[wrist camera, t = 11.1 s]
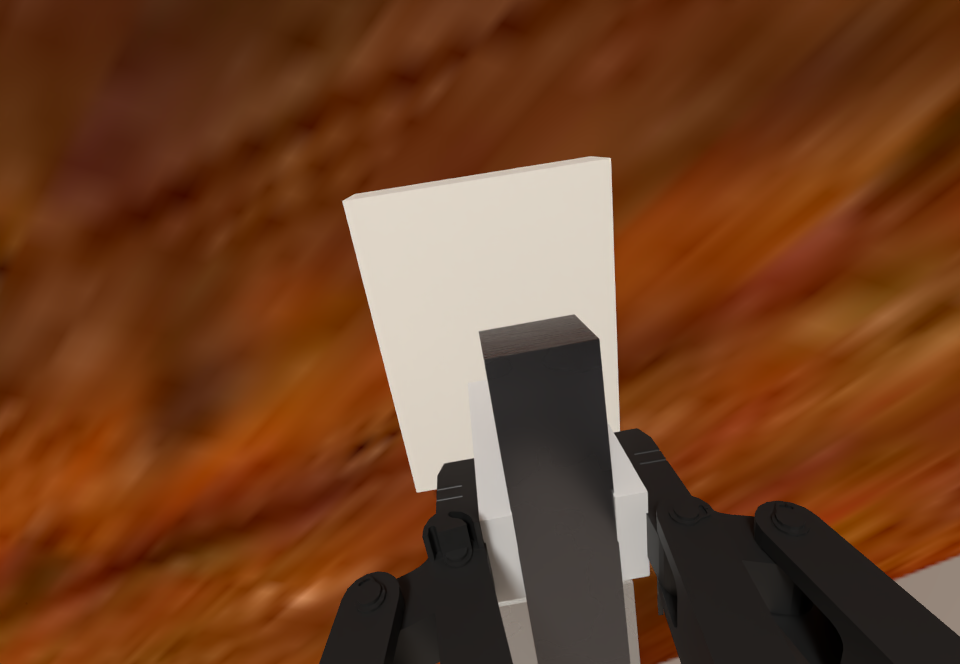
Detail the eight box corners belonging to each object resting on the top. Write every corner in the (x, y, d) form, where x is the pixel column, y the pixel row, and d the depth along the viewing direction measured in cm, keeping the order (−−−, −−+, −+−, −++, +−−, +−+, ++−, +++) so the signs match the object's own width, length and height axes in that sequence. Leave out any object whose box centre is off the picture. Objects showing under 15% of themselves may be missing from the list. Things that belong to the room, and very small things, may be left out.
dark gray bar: (417, 305, 15) (397, 375, 9) (597, 274, 15) (685, 323, 9) (520, 781, 22) (544, 986, 16) (642, 758, 22) (708, 955, 16)
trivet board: (354, 194, 23) (342, 201, 20) (590, 156, 23) (610, 158, 20) (419, 459, 29) (416, 492, 27) (604, 428, 29) (620, 457, 27)
